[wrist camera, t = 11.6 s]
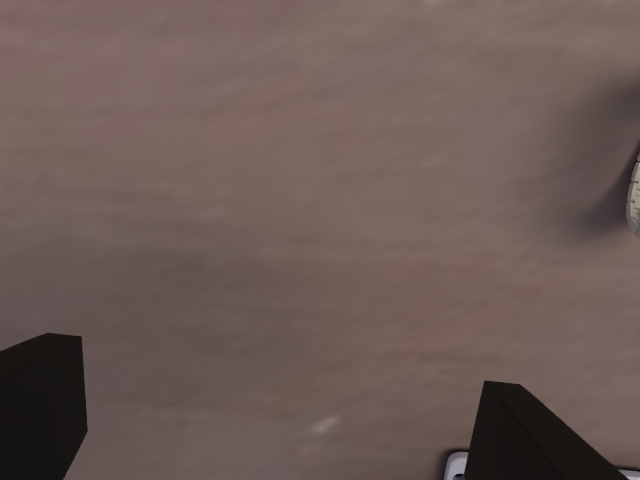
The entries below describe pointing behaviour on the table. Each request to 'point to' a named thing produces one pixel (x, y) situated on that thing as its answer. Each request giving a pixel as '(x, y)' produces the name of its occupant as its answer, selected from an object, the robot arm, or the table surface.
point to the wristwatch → (634, 200)
